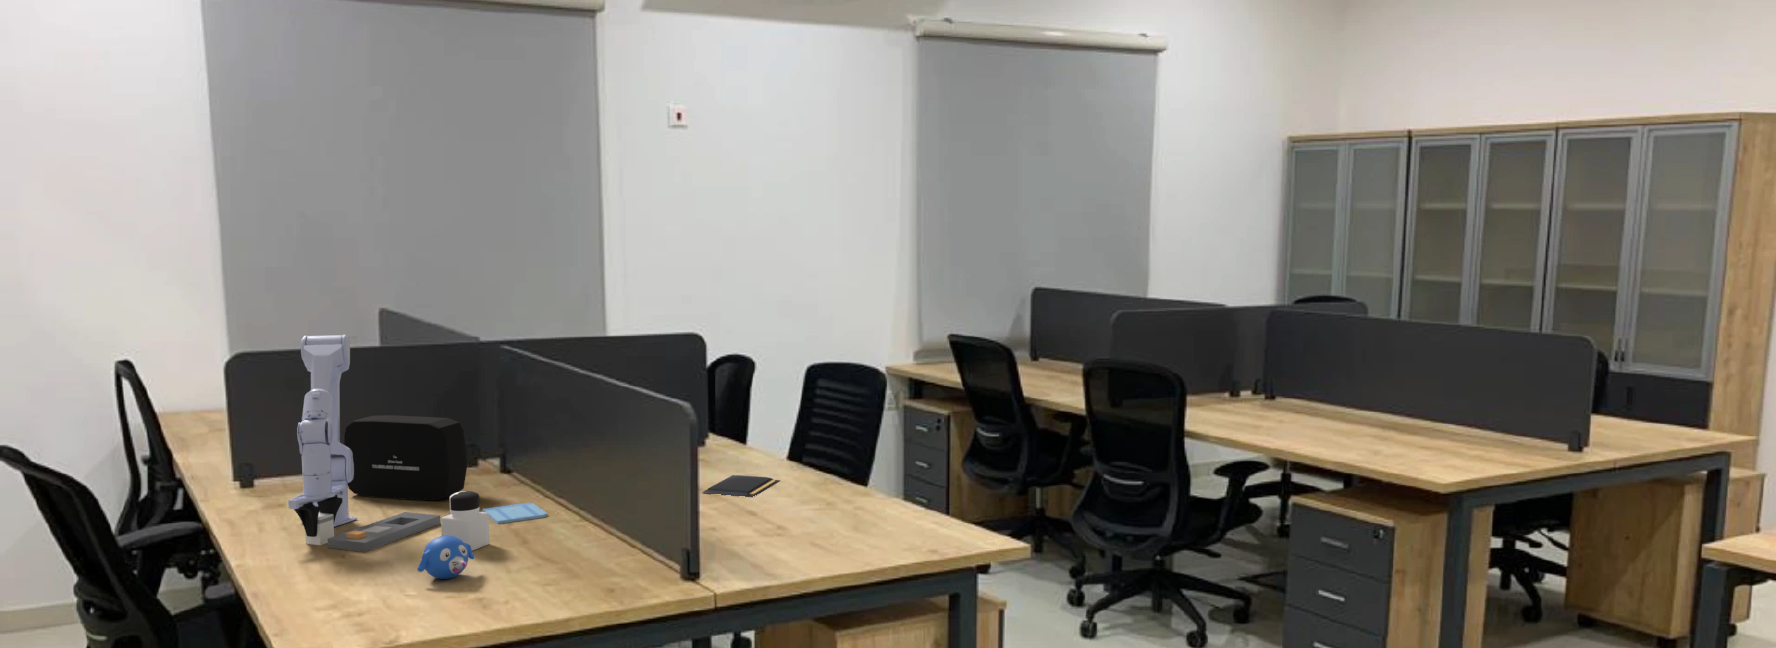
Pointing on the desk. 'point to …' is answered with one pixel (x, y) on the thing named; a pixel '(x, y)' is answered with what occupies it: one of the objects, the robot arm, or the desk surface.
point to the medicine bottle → (466, 520)
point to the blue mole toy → (445, 557)
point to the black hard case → (407, 457)
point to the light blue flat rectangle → (515, 513)
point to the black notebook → (741, 486)
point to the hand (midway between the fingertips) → (319, 533)
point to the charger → (322, 530)
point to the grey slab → (383, 531)
